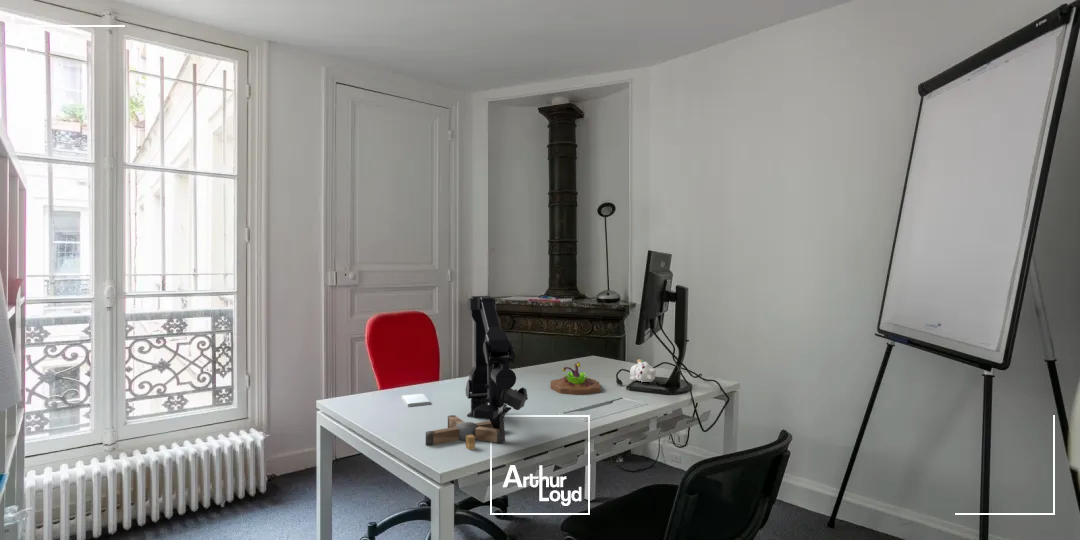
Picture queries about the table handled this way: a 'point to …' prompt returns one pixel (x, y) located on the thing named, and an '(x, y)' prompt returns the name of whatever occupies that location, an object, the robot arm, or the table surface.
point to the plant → (575, 383)
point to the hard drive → (415, 400)
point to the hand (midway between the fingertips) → (498, 433)
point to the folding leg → (490, 434)
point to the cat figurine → (642, 372)
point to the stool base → (456, 432)
